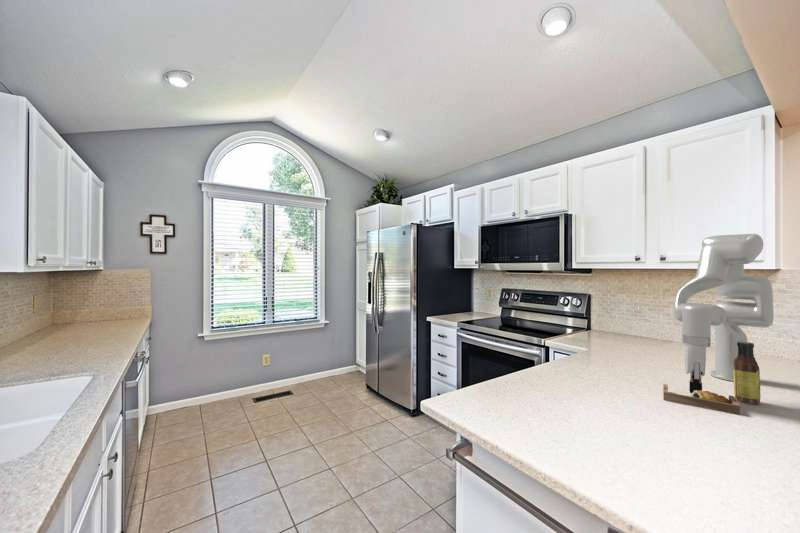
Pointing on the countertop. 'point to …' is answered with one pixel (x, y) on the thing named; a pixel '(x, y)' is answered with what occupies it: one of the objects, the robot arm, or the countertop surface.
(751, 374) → the sauce bottle
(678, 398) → the open wooden frame
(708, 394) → the pastry
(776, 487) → the countertop surface
